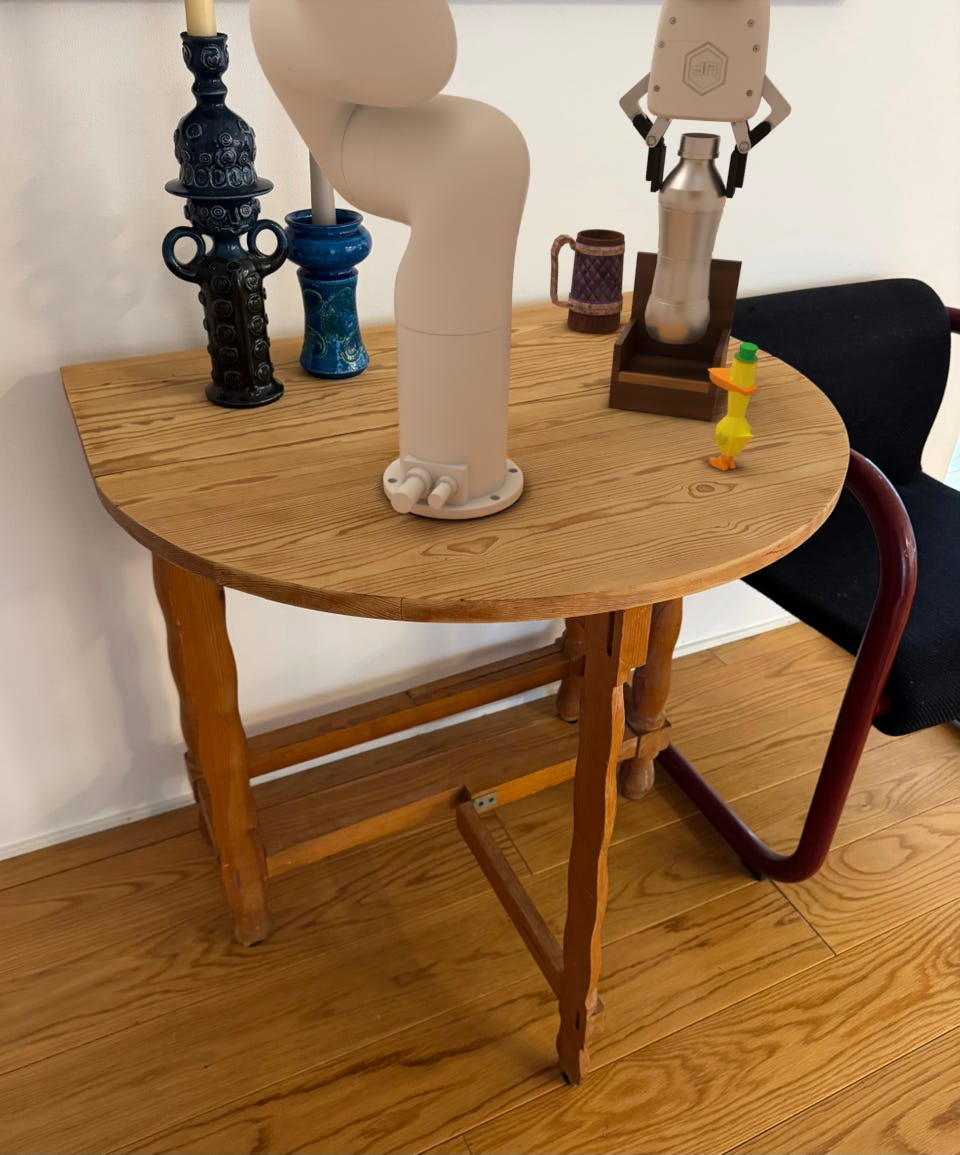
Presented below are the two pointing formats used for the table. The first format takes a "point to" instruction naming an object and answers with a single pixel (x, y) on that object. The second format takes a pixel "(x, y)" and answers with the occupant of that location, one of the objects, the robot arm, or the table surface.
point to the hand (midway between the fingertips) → (692, 191)
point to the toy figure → (735, 404)
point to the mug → (592, 280)
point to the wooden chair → (673, 351)
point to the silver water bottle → (686, 242)
